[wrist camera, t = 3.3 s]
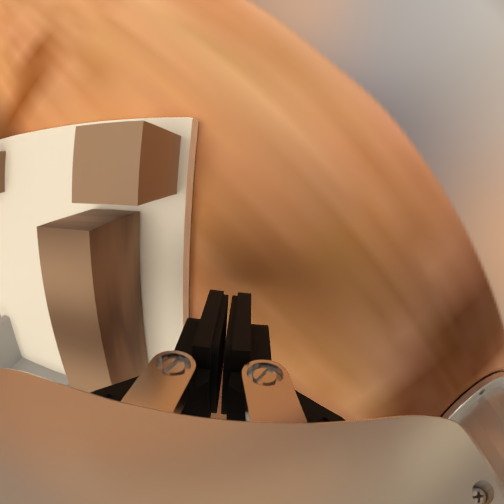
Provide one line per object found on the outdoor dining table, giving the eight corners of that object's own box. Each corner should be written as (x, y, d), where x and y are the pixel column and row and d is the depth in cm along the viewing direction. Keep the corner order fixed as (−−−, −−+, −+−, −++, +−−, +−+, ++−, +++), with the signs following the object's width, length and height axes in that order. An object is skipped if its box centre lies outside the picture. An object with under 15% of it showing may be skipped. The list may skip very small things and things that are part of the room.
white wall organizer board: (198, 122, 14) (160, 92, 8) (191, 411, 20) (175, 474, 14) (-4, 143, 14) (-61, 146, 8) (27, 362, 20) (-7, 398, 14)
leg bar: (154, 401, 18) (133, 453, 13) (116, 391, 18) (89, 439, 13) (141, 211, 14) (88, 232, 9) (92, 208, 14) (32, 227, 9)
